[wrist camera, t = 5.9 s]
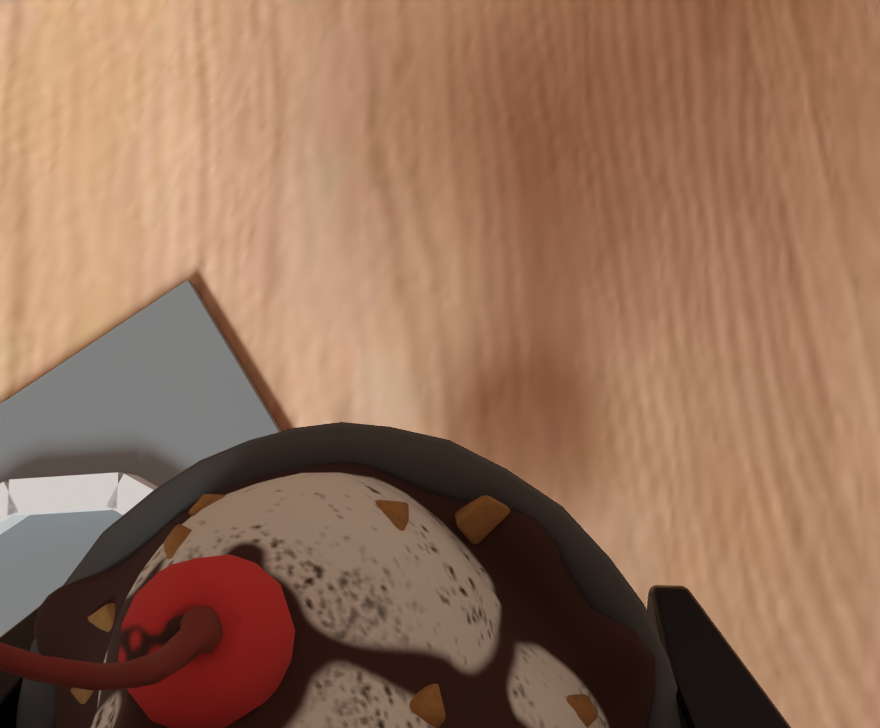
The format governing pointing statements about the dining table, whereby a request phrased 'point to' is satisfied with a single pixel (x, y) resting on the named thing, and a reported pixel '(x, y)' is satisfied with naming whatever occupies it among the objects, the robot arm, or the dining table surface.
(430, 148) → the dining table surface
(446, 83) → the dining table surface
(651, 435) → the dining table surface
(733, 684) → the robot arm
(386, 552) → the sundae
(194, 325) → the ring mat
